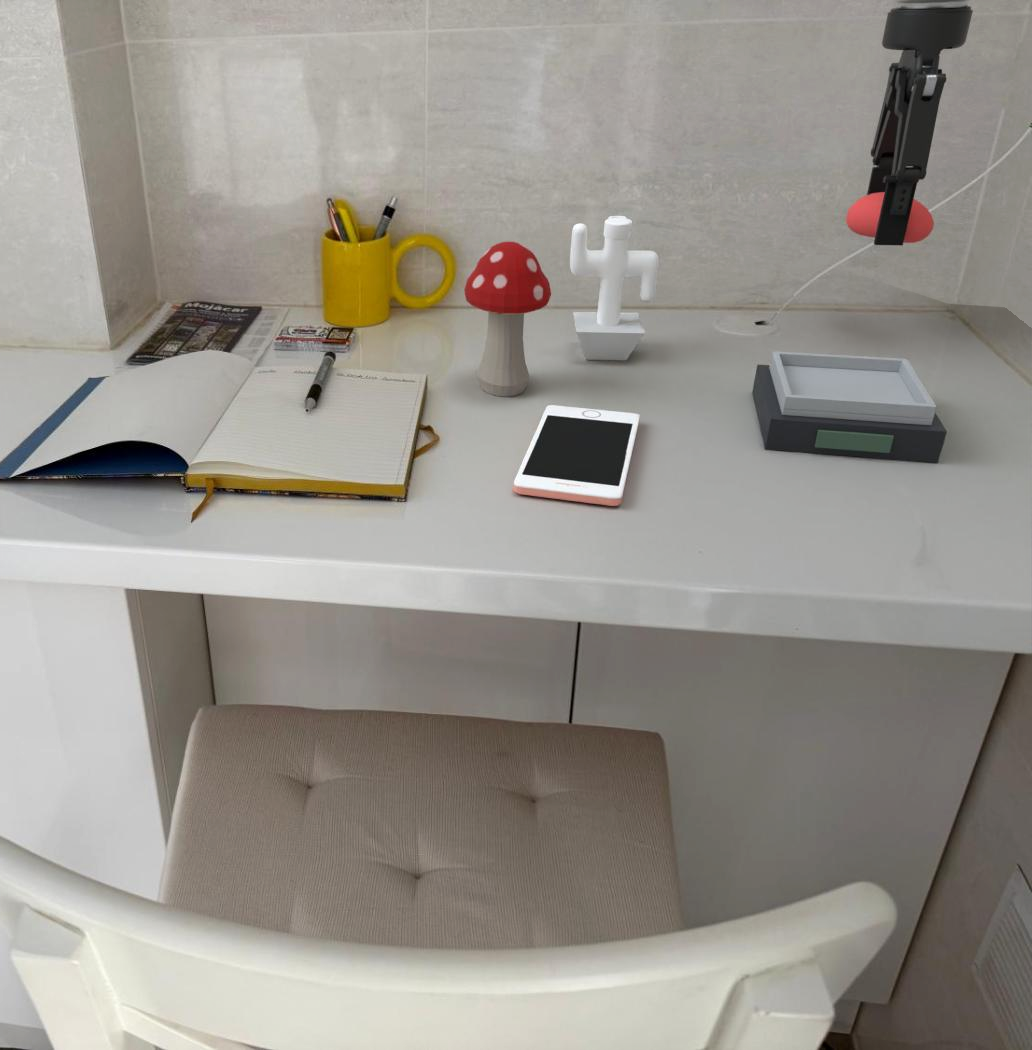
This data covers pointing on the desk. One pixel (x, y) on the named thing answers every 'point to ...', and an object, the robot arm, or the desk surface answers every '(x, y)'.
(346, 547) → the desk surface
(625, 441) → the cell phone
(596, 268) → the figurine
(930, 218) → the stress ball
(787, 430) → the scale
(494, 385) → the decorative mushroom
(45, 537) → the desk surface
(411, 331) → the desk surface
